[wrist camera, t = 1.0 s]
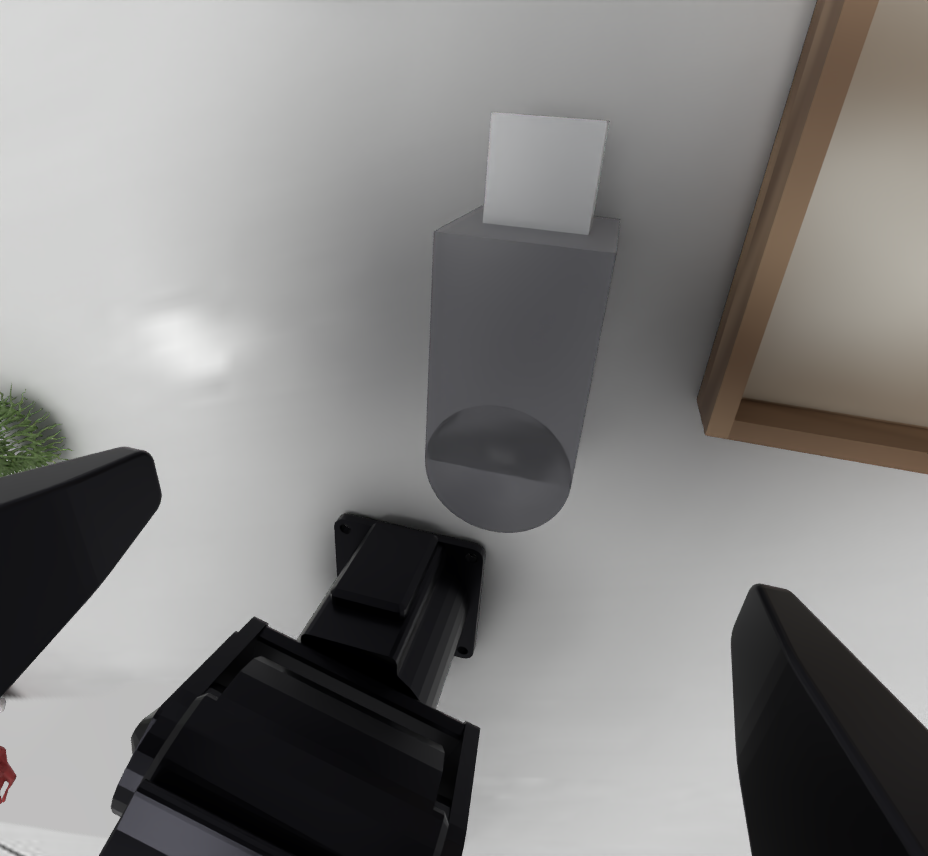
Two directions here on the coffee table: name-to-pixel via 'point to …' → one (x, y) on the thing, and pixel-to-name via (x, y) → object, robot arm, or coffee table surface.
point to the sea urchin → (20, 459)
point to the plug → (518, 324)
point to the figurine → (5, 763)
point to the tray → (837, 254)
